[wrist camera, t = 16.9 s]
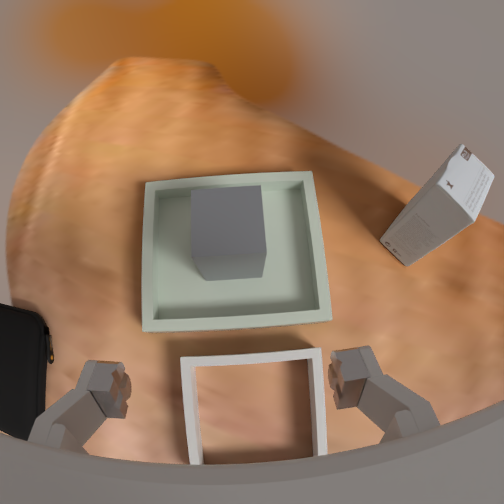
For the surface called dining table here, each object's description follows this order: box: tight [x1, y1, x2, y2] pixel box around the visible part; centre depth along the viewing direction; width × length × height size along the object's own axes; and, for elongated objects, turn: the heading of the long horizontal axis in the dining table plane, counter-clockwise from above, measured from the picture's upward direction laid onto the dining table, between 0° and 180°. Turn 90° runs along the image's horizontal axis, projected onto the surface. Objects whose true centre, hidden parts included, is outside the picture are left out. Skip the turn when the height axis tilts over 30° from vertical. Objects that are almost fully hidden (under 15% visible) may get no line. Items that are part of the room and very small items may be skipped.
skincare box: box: [380, 144, 494, 266], centre depth 26 cm, size 6×4×12 cm
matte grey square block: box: [191, 185, 267, 281], centre depth 26 cm, size 5×5×8 cm
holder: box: [180, 347, 327, 465], centre depth 25 cm, size 12×12×2 cm
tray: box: [142, 171, 332, 333], centre depth 29 cm, size 16×14×2 cm
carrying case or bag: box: [0, 303, 54, 441], centre depth 25 cm, size 11×3×15 cm
